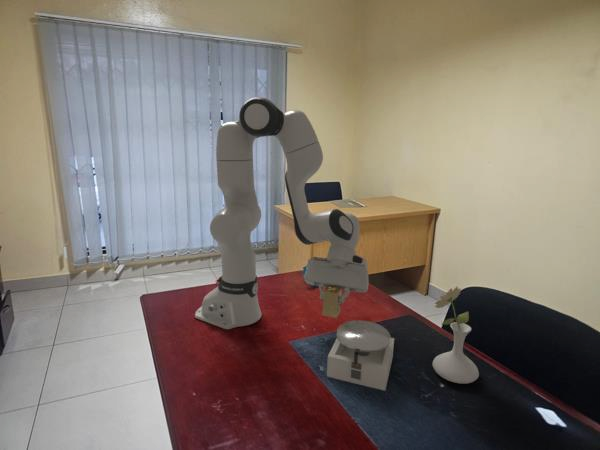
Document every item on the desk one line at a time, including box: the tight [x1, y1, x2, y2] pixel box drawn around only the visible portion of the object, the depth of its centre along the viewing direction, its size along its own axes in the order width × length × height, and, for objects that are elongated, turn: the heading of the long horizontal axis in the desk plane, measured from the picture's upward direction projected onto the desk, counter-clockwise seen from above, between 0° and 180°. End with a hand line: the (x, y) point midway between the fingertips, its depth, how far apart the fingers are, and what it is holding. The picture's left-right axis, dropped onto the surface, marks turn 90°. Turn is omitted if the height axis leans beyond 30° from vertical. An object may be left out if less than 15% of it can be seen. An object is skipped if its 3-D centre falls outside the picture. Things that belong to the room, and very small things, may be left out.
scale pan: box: [336, 319, 391, 367], centre depth 99 cm, size 14×16×6 cm
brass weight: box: [321, 286, 342, 319], centre depth 115 cm, size 4×4×9 cm
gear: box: [301, 264, 319, 288], centre depth 155 cm, size 11×6×10 cm
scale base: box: [326, 337, 395, 392], centre depth 101 cm, size 15×15×6 cm
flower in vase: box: [432, 286, 480, 385], centre depth 96 cm, size 13×11×25 cm
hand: (331, 300), depth 114 cm, fingers closed on brass weight, 5 cm apart
